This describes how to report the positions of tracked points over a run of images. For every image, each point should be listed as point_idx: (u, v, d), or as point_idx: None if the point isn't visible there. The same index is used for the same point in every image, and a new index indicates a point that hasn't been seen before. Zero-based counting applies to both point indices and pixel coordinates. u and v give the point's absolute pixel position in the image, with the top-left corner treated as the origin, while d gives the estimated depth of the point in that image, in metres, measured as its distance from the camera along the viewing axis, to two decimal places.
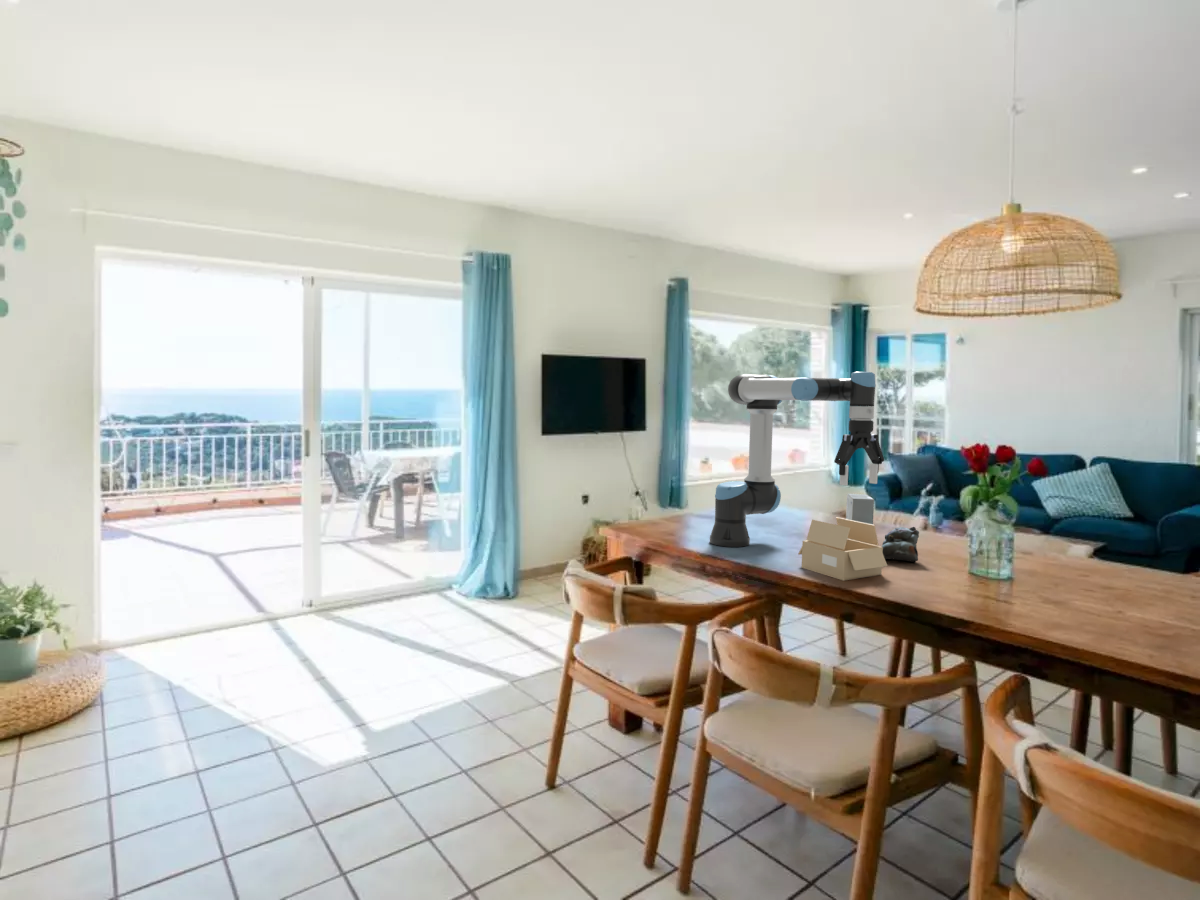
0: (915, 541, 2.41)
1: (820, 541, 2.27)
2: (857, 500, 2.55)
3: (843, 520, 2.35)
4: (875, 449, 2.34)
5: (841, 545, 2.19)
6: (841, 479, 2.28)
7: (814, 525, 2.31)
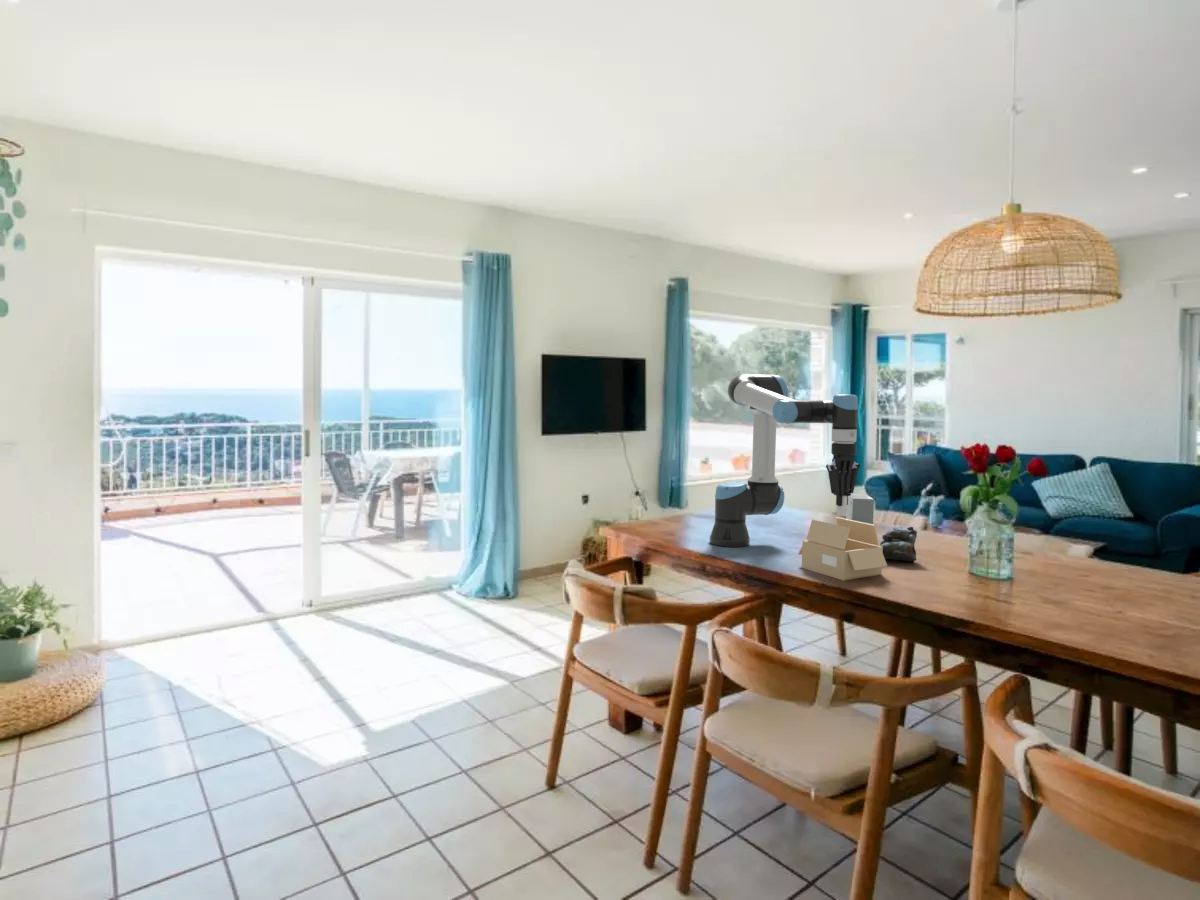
0: (913, 541, 2.41)
1: (820, 541, 2.27)
2: (857, 500, 2.55)
3: (843, 520, 2.35)
4: (850, 478, 2.28)
5: (841, 545, 2.19)
6: (838, 509, 2.27)
7: (814, 525, 2.31)
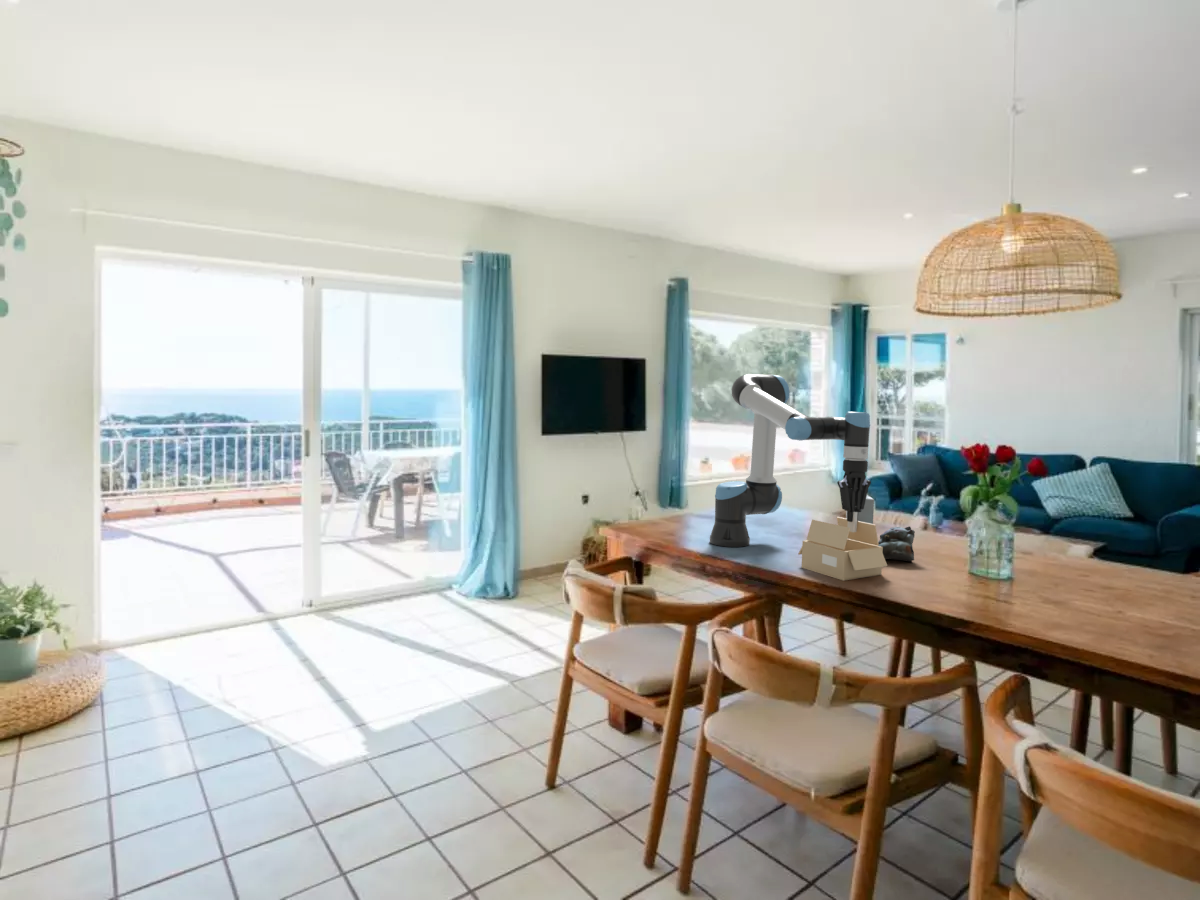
0: (911, 541, 2.41)
1: (820, 541, 2.27)
2: None
3: (844, 520, 2.35)
4: (861, 494, 2.31)
5: (841, 545, 2.19)
6: (848, 525, 2.31)
7: (814, 525, 2.31)
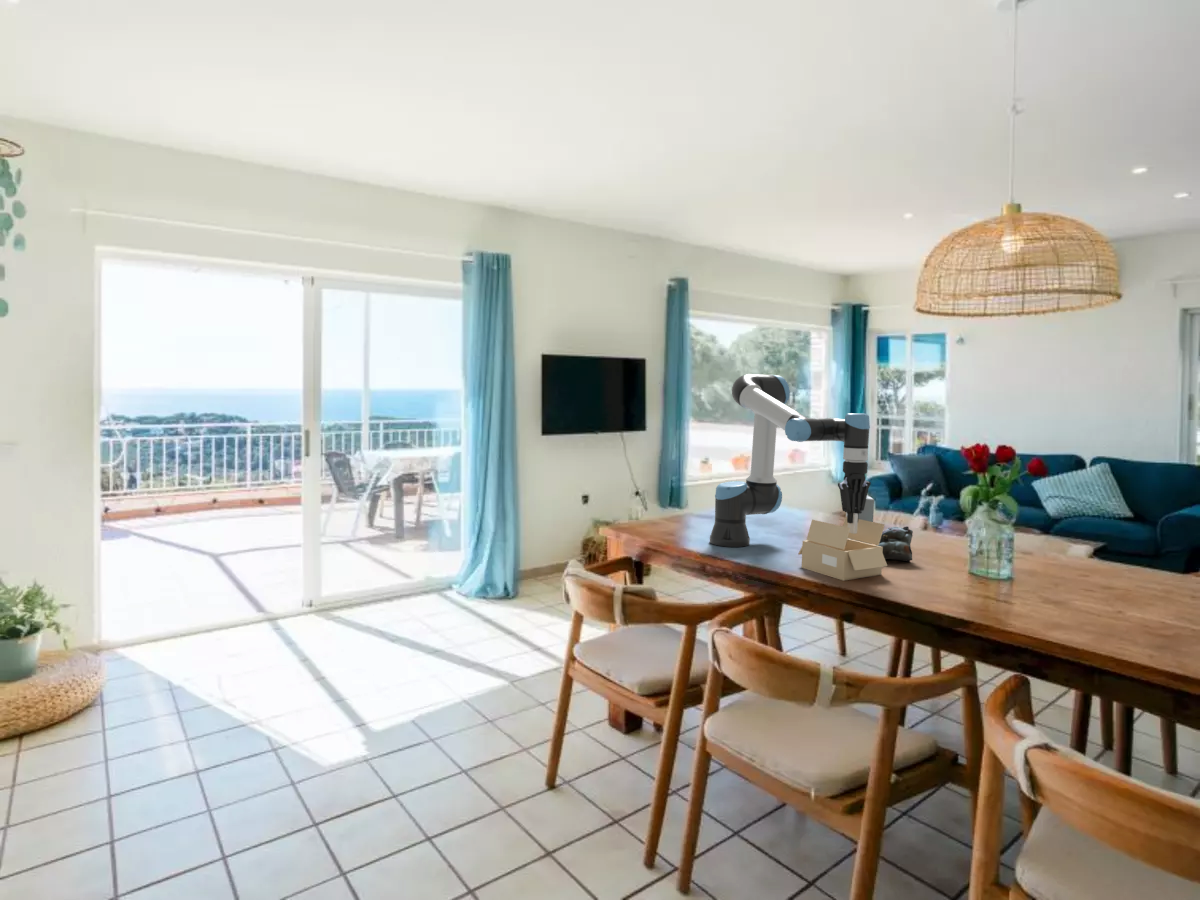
0: (909, 541, 2.41)
1: (820, 541, 2.27)
2: None
3: None
4: (861, 495, 2.31)
5: (841, 545, 2.19)
6: (848, 526, 2.31)
7: (814, 525, 2.31)
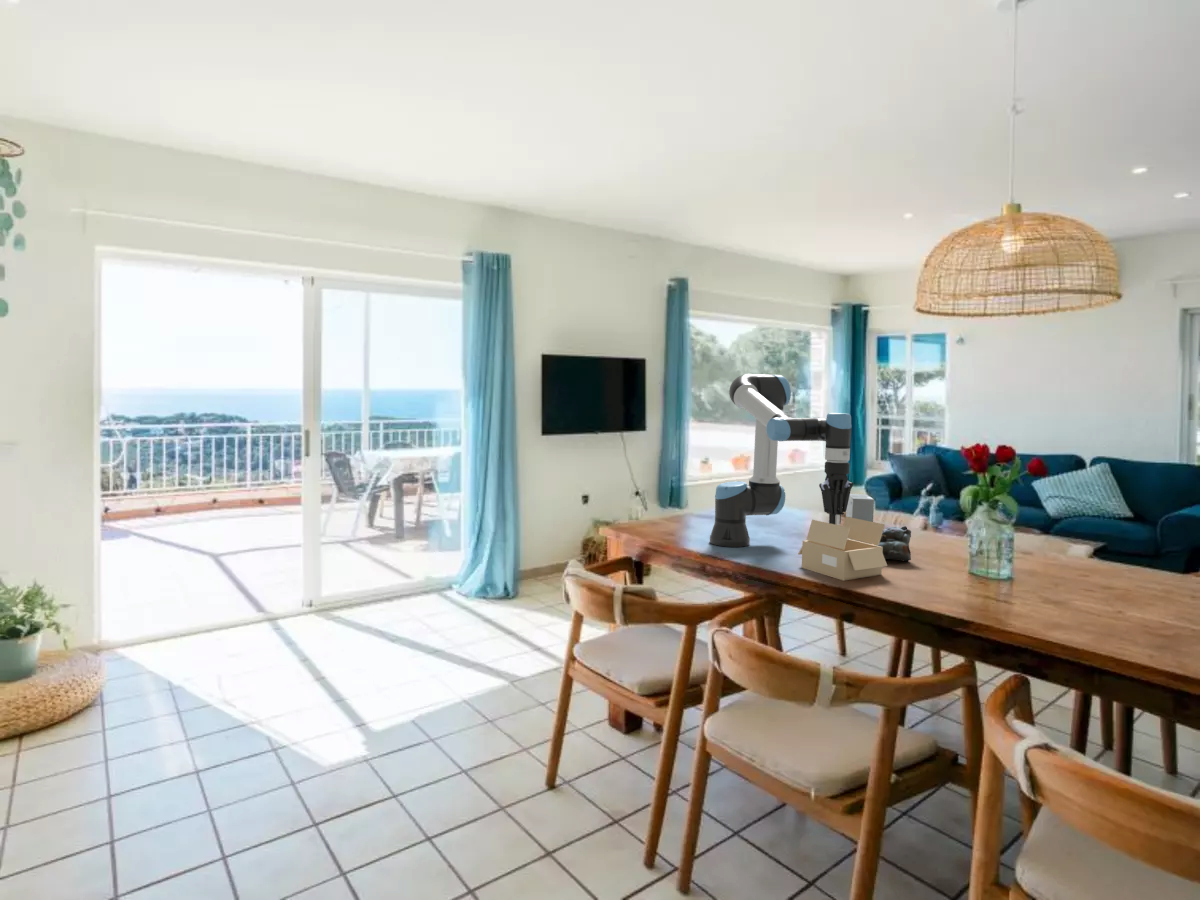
0: (908, 540, 2.42)
1: (820, 541, 2.27)
2: (857, 500, 2.55)
3: (852, 519, 2.37)
4: (843, 496, 2.27)
5: (841, 545, 2.19)
6: None
7: (813, 525, 2.31)
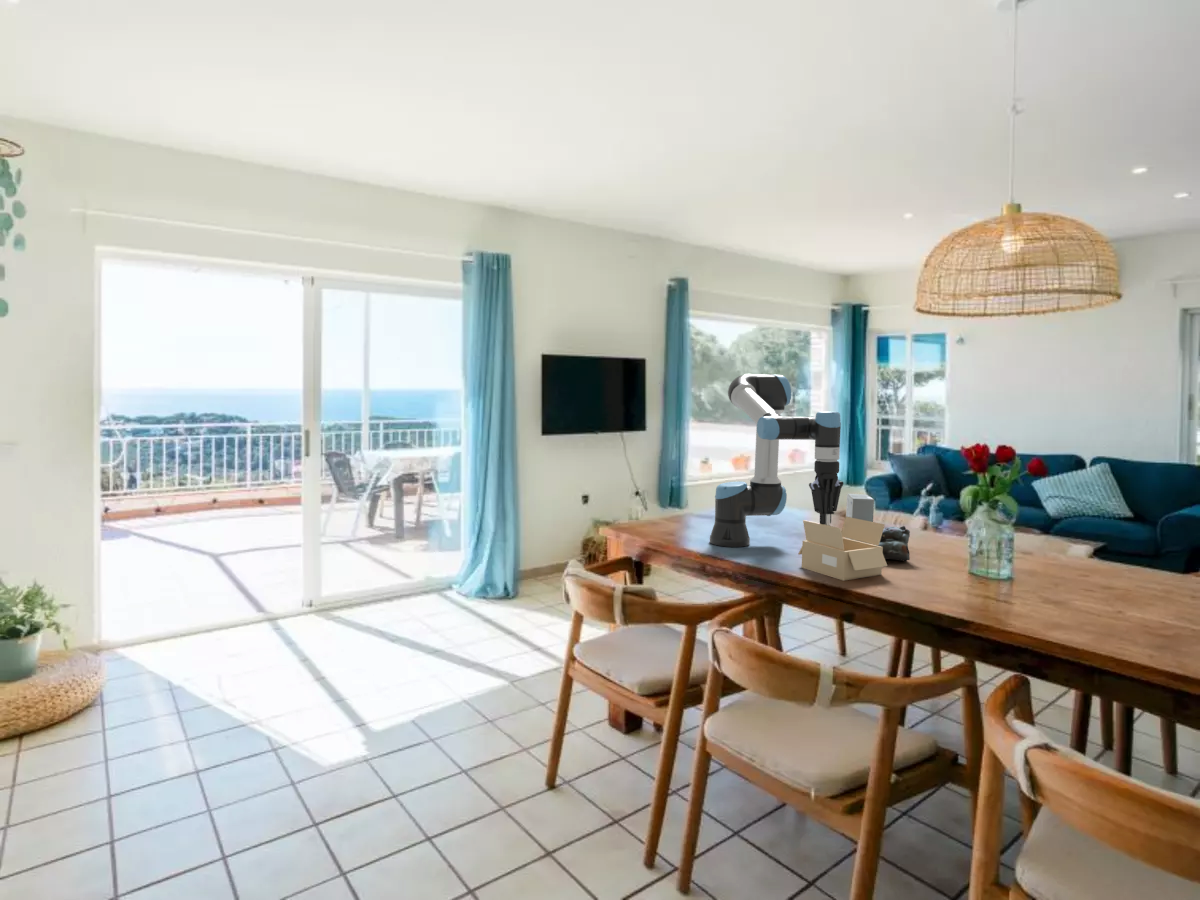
0: (906, 540, 2.42)
1: (819, 541, 2.27)
2: (857, 500, 2.55)
3: (852, 519, 2.37)
4: (834, 495, 2.25)
5: (840, 546, 2.19)
6: None
7: (807, 526, 2.30)
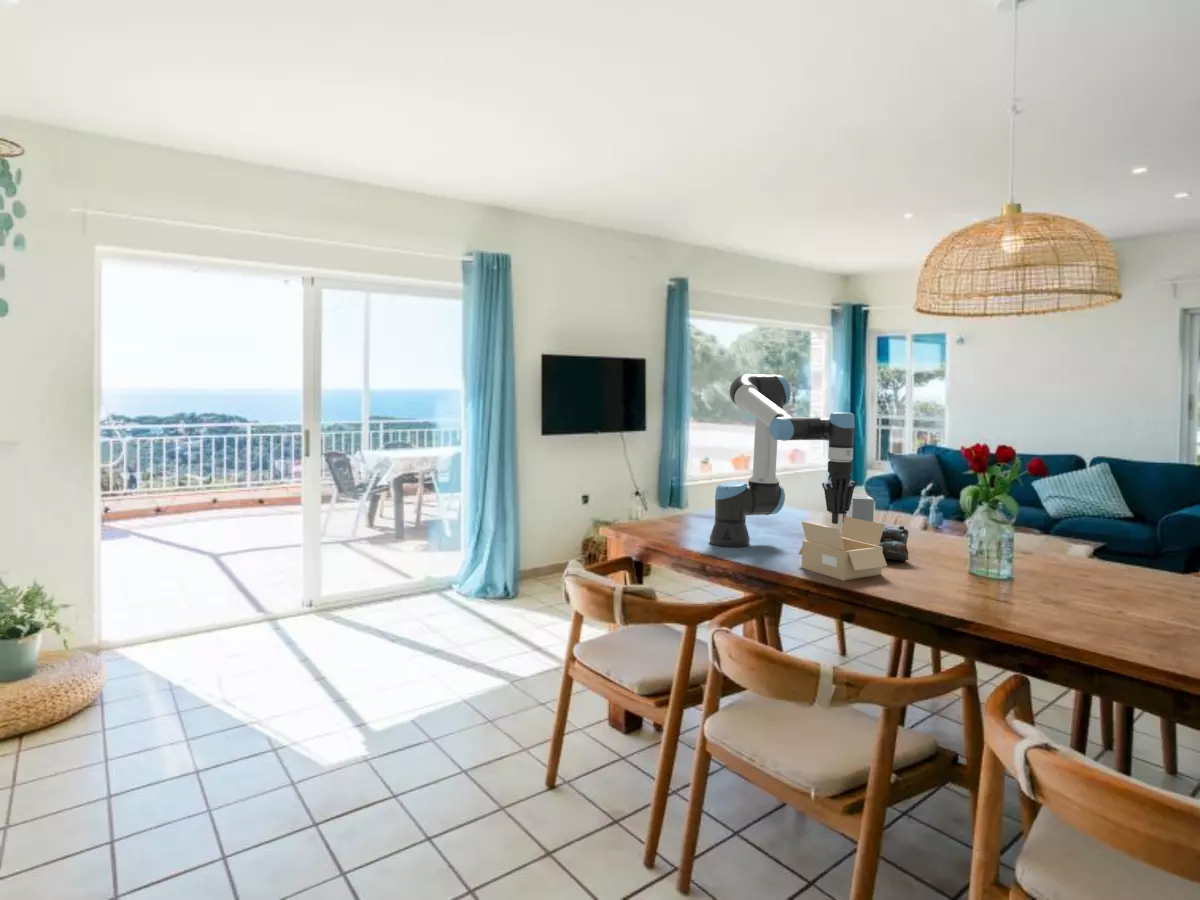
0: (905, 540, 2.42)
1: (819, 542, 2.26)
2: (857, 500, 2.55)
3: (852, 519, 2.37)
4: (846, 495, 2.28)
5: (840, 546, 2.19)
6: (833, 527, 2.28)
7: (806, 527, 2.29)
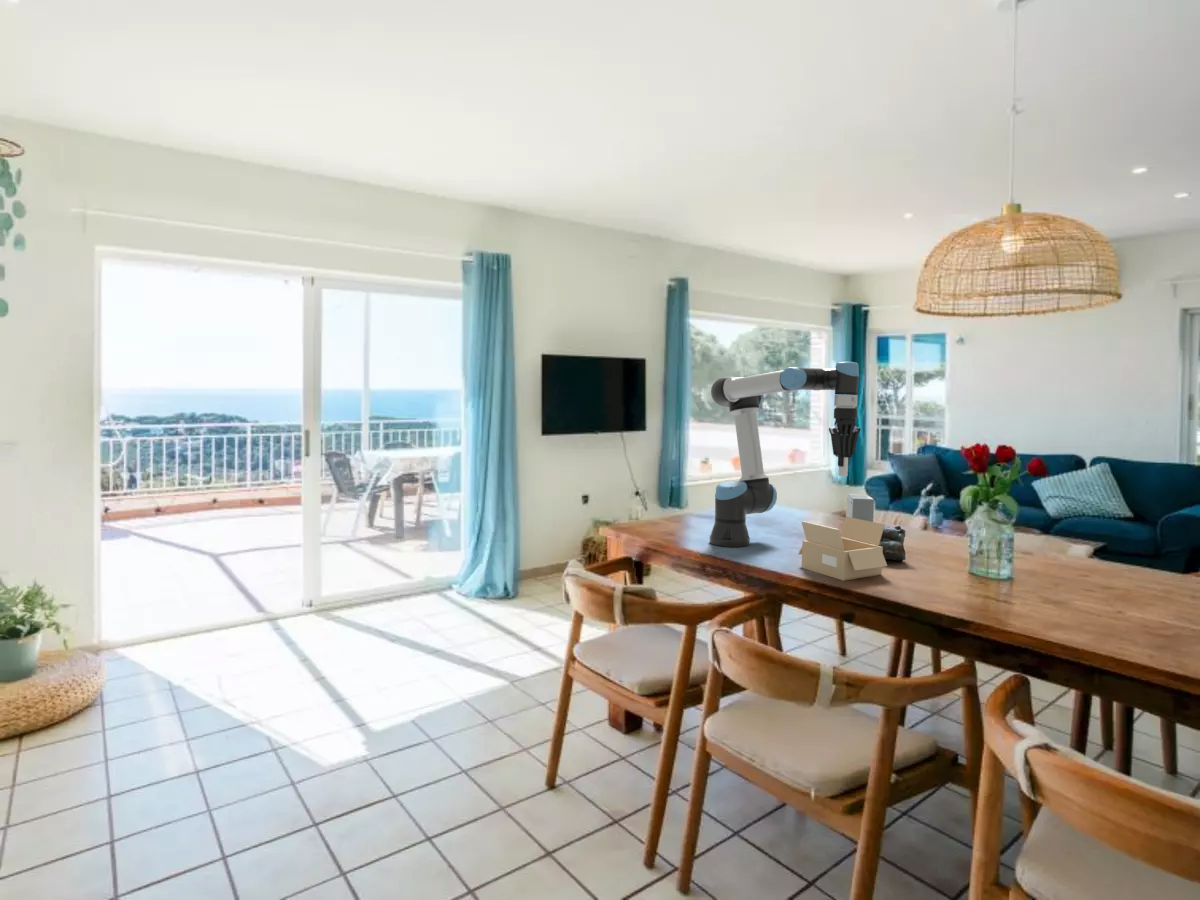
0: (902, 540, 2.42)
1: (819, 542, 2.26)
2: (857, 500, 2.55)
3: (852, 519, 2.37)
4: (851, 440, 2.44)
5: (840, 546, 2.19)
6: (839, 470, 2.43)
7: (806, 527, 2.29)
